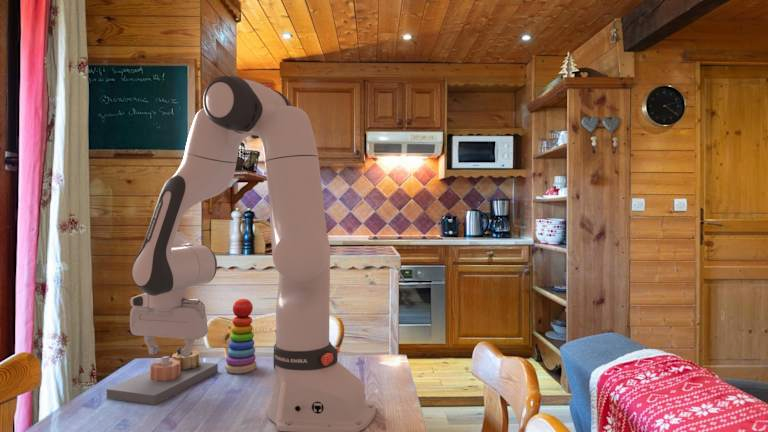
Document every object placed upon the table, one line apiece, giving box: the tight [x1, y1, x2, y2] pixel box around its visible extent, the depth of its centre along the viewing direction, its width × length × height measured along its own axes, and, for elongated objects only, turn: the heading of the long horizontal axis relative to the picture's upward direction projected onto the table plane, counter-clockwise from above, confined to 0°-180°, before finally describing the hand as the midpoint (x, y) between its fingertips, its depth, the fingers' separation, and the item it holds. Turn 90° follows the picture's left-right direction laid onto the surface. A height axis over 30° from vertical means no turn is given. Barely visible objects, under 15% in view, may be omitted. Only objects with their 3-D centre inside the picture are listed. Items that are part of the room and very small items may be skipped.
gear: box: [171, 347, 201, 370], centre depth 119 cm, size 7×7×4 cm
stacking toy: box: [224, 298, 258, 375], centre depth 122 cm, size 8×8×19 cm
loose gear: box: [149, 359, 181, 381], centre depth 111 cm, size 7×7×3 cm
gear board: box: [106, 355, 219, 406], centre depth 112 cm, size 13×22×6 cm, turn 164°
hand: (169, 354), depth 112 cm, fingers open, 8 cm apart
